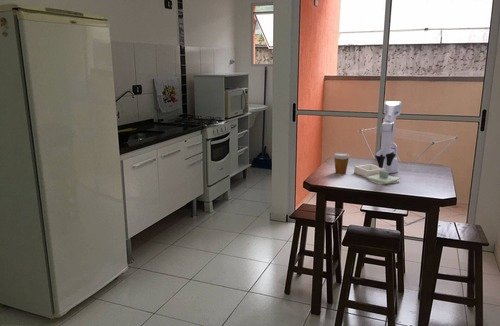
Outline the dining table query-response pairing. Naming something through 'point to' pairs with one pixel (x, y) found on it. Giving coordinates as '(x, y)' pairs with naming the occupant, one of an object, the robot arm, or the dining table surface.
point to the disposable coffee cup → (341, 162)
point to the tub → (367, 170)
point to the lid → (383, 178)
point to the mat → (381, 183)
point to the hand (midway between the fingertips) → (384, 166)
